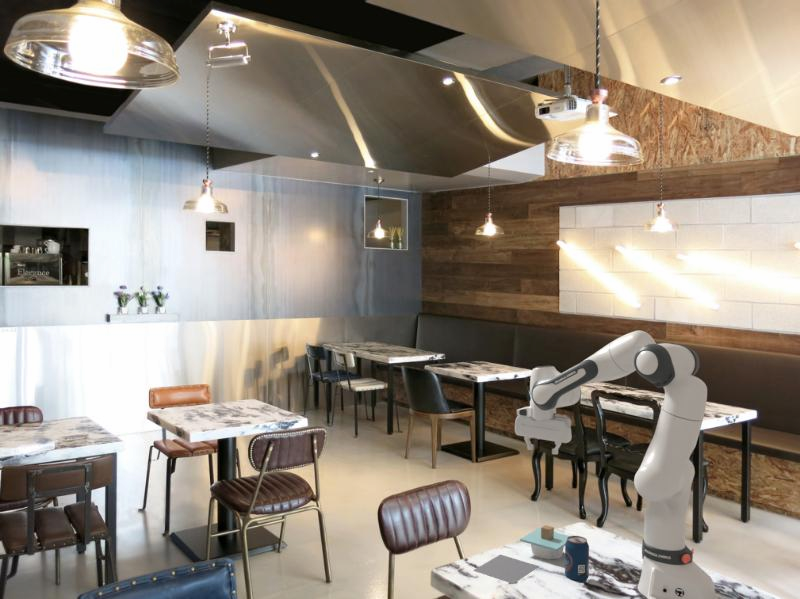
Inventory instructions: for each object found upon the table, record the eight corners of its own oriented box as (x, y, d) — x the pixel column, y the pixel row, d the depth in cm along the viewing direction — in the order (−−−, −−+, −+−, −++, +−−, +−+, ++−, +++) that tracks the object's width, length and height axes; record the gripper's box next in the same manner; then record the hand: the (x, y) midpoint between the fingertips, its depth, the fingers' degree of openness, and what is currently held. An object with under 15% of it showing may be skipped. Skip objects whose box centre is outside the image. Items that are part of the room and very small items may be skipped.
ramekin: (529, 547, 219) (529, 532, 219) (563, 550, 216) (563, 534, 216) (529, 561, 208) (529, 544, 208) (565, 564, 206) (565, 547, 205)
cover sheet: (574, 539, 213) (574, 526, 213) (556, 551, 203) (556, 538, 203) (538, 529, 221) (538, 517, 221) (520, 540, 211) (520, 528, 211)
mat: (539, 568, 202) (539, 566, 202) (513, 586, 189) (513, 583, 189) (500, 556, 211) (500, 554, 211) (473, 572, 198) (473, 570, 198)
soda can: (561, 574, 198) (561, 535, 198) (583, 573, 199) (583, 534, 198) (570, 584, 191) (570, 544, 191) (592, 583, 192) (592, 543, 192)
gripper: (574, 414, 219) (574, 455, 220) (521, 407, 233) (521, 445, 233) (566, 417, 215) (566, 458, 215) (512, 409, 228) (512, 448, 228)
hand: (542, 451), depth 224 cm, fingers open, 8 cm apart
